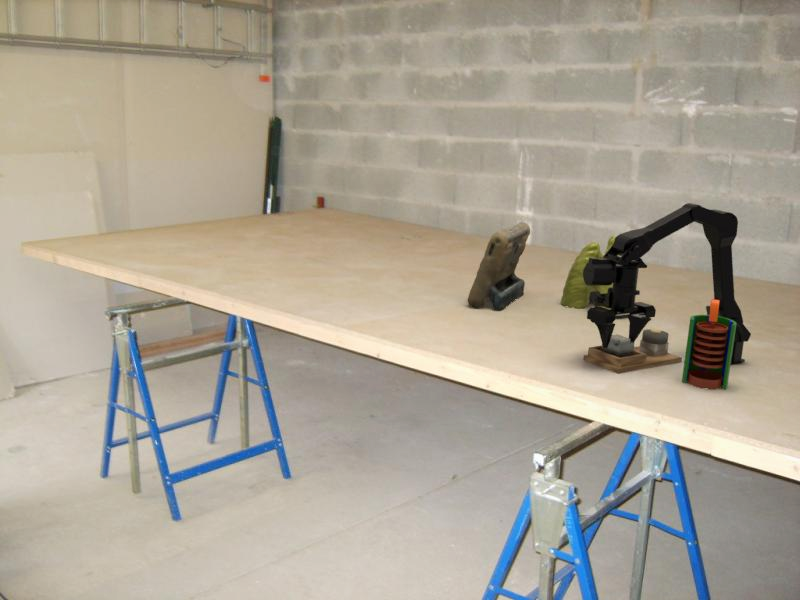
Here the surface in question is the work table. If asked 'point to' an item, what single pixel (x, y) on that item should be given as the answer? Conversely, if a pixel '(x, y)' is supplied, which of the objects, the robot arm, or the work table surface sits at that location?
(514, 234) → the tablet
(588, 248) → the lungs
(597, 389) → the work table surface
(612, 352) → the stepped grey block
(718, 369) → the motor
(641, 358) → the wooden tray
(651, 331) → the grey knob
